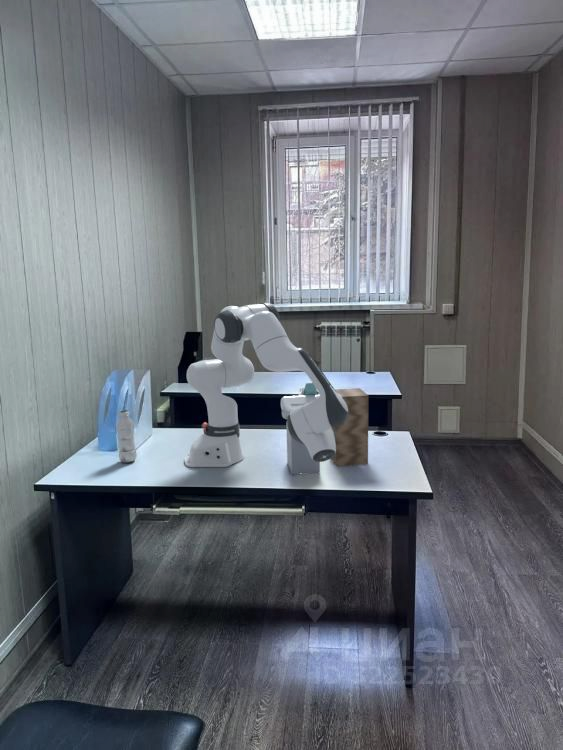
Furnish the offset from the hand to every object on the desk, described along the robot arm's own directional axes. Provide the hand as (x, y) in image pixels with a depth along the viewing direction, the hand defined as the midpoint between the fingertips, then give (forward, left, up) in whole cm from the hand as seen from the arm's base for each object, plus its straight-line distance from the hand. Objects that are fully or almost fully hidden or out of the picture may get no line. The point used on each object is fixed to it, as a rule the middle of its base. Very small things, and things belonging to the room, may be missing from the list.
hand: (308, 388), depth 183 cm
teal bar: (0, +4, -7) cm, 9 cm away
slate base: (-1, +9, -31) cm, 33 cm away
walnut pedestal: (+17, +14, -31) cm, 39 cm away
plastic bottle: (-66, +28, -32) cm, 78 cm away
